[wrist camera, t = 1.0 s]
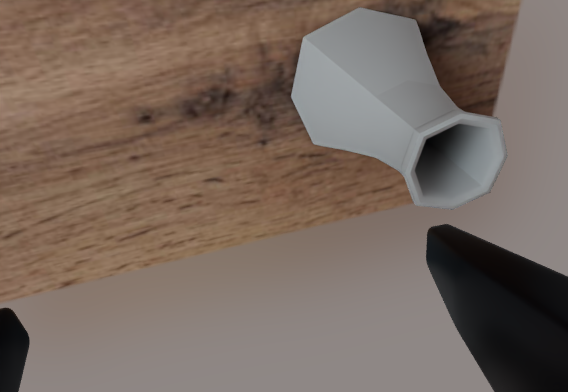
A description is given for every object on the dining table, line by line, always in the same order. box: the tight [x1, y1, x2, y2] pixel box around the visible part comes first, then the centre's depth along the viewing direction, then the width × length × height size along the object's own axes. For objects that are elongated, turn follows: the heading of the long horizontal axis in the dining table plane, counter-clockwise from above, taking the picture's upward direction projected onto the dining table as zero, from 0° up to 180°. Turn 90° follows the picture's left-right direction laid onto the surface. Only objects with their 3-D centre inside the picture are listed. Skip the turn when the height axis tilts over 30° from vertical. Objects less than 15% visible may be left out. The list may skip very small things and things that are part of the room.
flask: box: [291, 7, 507, 210], centre depth 17 cm, size 7×7×10 cm
